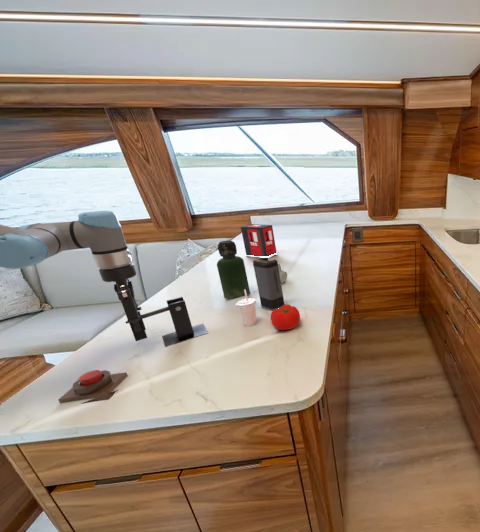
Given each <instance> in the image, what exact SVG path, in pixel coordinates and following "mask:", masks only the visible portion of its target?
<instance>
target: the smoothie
mask: <svg viewBox="0 0 480 532" xmlns="http://www.w3.org/2000/svg"><path fill="white" fill-rule="evenodd" d="M244 292H245V296H244V297H245V298H242V299H239V300H237V302H236V303H235V306H236V308H237V309H238V311H239V314H240V316H241V319H242V322H243V325H244V326H247V327H249V326H253V325H255V324H256V323H257V309H256V308H257V307H256V304H257V300H256V298H254V297H248V295H247V293H246V289H245V290H244Z"/></svg>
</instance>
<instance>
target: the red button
mask: <svg viewBox="0 0 480 532" xmlns="http://www.w3.org/2000/svg"><path fill="white" fill-rule="evenodd" d="M101 371H102V370H100V369H93V370H90V371H88V372H86V373H84V374H82V375H80V376H79V378H78V380H79V381H80V383H81V385H82V386H84V385H89V384H92V383H95V382H97V381H99V380H101V379H102V378H103V375H102V373H101Z"/></svg>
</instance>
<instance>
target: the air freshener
mask: <svg viewBox="0 0 480 532" xmlns="http://www.w3.org/2000/svg"><path fill="white" fill-rule="evenodd" d="M277 262H278V268H279V274H280V280H281V284H283V283H284V282H285V281H286V280H287V279H288V272H287V271H285V270H283V269H282V265H281V262H279V261H277ZM282 282H283V283H282Z"/></svg>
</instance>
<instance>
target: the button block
mask: <svg viewBox="0 0 480 532" xmlns="http://www.w3.org/2000/svg"><path fill="white" fill-rule="evenodd" d="M100 371H101V373H102V375H103V378H102V379H101V380H99V381H97V382H95V383H92V384H89V385H84V386H82V385H81V383H80V381H79V379H77V380H76V381H75V382H74V383H73V384H72V387H71V388H70V389H69V390H68V391H67V392H65V393H64V394H63V395H62V396H61V397H59V398H58V400H57V401H58V402H59V404H65V403H72V402H78V401H85V400H86V401H85V402H81V403H80V404H81V405H82V404H89V403H94V402H101V401H107V400H108V401H109V400H110V399H111V398H112V397H113V396H114V395H115V394H116V393H117V392H118V389H116V388H117V387H118V386H119V385H120V384H121V383H122V382H123V381H124V380H125V379H126V378H127V377H128V376H129V375H128V373H127V372H125V371H124V372H117V373H111V371H109V370H106V369H105V370H100ZM115 389H116V390H115Z"/></svg>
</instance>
